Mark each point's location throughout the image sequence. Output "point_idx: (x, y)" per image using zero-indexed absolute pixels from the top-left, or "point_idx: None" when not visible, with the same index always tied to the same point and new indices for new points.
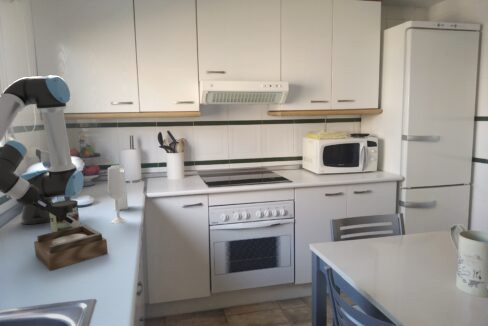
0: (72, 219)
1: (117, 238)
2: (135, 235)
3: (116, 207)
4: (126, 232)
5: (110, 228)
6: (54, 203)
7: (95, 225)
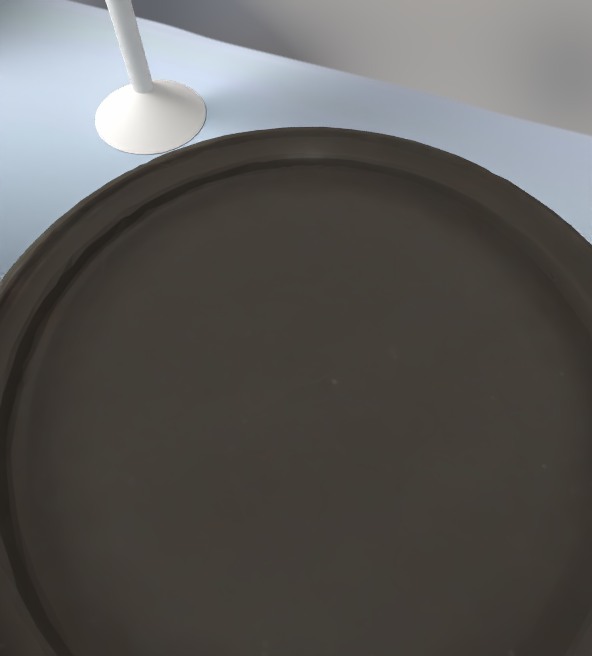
0: None
1: None
2: (557, 135)
3: (123, 11)
4: (459, 150)
5: None
6: (53, 581)
7: None
